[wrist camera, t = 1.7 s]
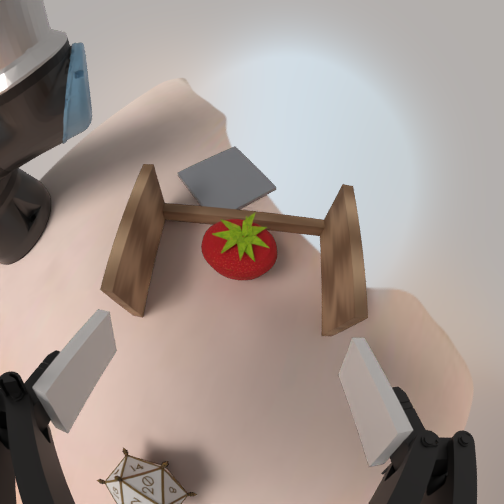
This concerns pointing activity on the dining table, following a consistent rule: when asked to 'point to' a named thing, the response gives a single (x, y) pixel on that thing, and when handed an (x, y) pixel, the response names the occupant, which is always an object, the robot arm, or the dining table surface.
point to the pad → (226, 181)
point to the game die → (144, 483)
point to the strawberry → (239, 248)
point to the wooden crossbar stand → (157, 211)
